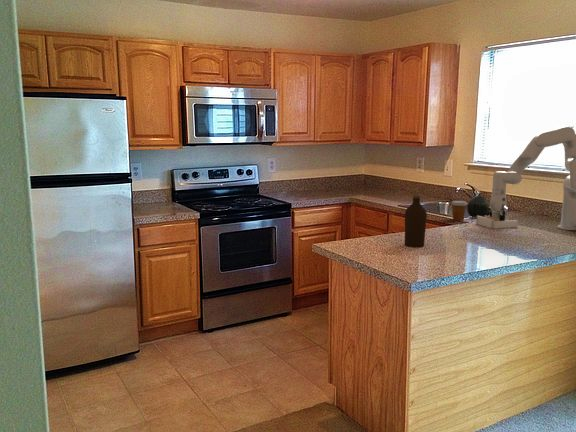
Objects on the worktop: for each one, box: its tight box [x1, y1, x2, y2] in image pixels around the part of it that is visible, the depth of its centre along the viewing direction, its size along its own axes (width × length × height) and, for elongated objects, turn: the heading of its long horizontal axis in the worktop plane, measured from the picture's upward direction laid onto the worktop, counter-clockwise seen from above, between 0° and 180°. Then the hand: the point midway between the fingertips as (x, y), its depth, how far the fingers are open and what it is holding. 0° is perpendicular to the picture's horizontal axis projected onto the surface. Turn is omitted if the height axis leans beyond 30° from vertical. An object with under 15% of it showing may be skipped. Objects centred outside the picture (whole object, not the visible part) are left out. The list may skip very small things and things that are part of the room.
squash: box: [466, 194, 490, 218], centre depth 337 cm, size 14×15×15 cm
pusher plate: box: [484, 216, 499, 221], centre depth 306 cm, size 12×2×5 cm, turn 14°
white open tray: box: [475, 216, 519, 229], centre depth 307 cm, size 15×17×5 cm
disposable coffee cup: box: [450, 200, 468, 222], centre depth 324 cm, size 10×10×12 cm
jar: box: [492, 210, 503, 221], centre depth 306 cm, size 6×6×9 cm
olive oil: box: [404, 194, 428, 248], centre depth 251 cm, size 11×11×25 cm
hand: (496, 220), depth 306 cm, fingers open, 9 cm apart
